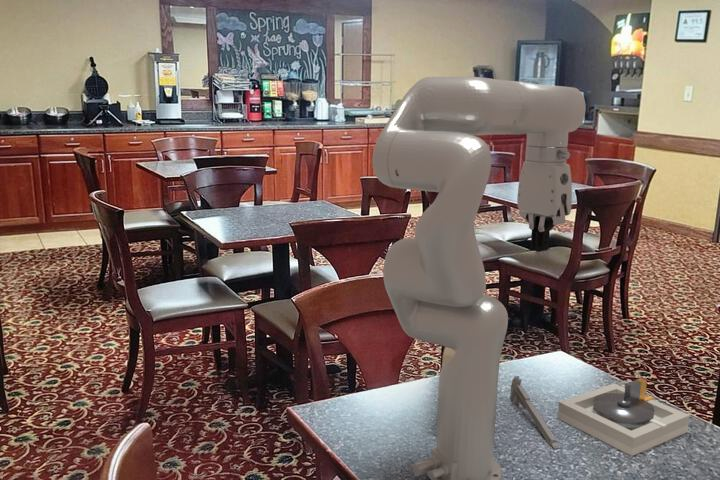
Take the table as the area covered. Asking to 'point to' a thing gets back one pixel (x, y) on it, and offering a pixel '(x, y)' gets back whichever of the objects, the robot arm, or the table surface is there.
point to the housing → (631, 442)
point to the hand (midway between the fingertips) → (539, 250)
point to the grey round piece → (626, 406)
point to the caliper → (531, 410)
